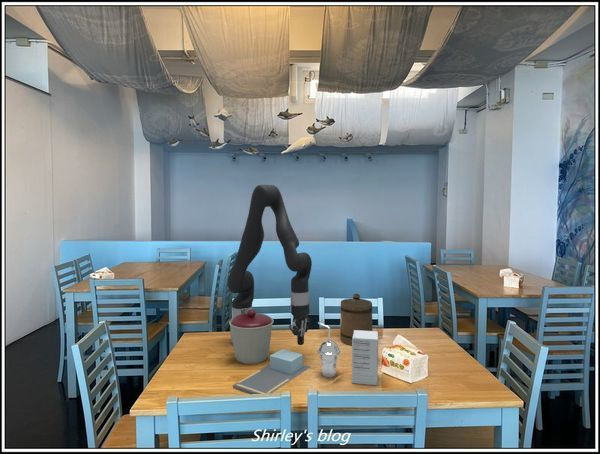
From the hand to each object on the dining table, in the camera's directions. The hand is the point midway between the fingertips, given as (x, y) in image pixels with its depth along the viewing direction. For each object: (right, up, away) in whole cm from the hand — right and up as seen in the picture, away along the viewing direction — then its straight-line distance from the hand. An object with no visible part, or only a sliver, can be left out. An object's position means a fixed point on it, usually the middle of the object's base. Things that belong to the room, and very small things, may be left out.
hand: (300, 344), depth 162 cm
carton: (-6, -7, -7) cm, 11 cm away
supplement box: (+24, -9, -15) cm, 29 cm away
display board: (-10, -9, -14) cm, 19 cm away
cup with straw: (+10, -9, -13) cm, 19 cm away
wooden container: (+26, -6, +25) cm, 36 cm away
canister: (-20, -7, +3) cm, 22 cm away
